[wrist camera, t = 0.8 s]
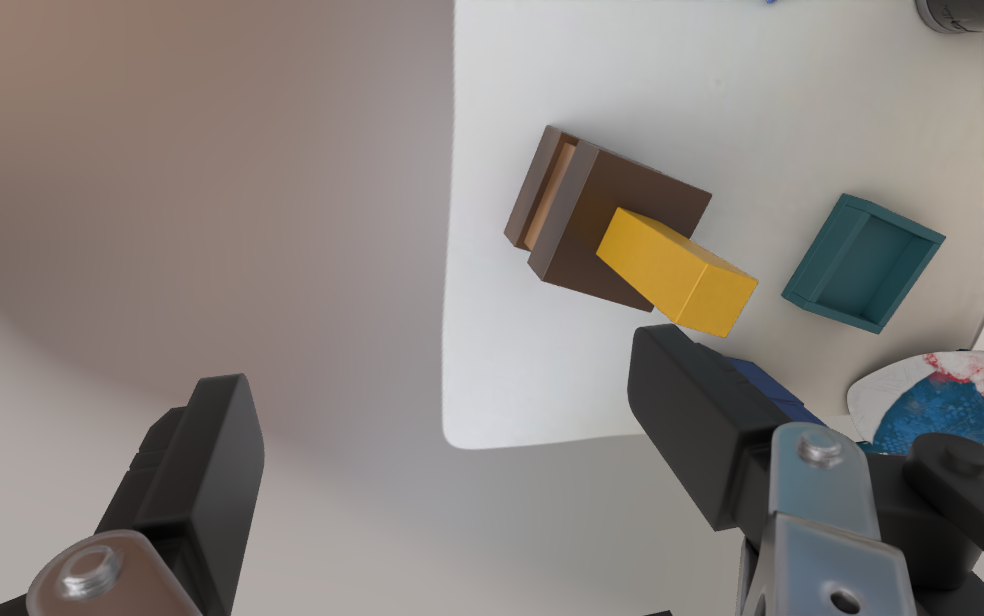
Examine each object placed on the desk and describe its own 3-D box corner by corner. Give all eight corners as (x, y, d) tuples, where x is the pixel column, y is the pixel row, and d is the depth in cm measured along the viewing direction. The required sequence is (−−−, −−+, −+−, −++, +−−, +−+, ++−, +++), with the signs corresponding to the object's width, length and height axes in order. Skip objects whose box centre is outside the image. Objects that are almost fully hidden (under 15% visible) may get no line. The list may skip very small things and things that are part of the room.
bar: (617, 206, 31) (707, 263, 23) (659, 221, 32) (760, 281, 24) (595, 253, 32) (674, 324, 24) (636, 267, 33) (725, 339, 25)
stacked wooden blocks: (546, 124, 37) (599, 148, 30) (642, 163, 40) (713, 194, 32) (503, 233, 40) (540, 281, 32) (595, 262, 43) (651, 313, 35)
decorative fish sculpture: (1062, 354, 54) (944, 268, 53) (1155, 442, 44) (1011, 338, 43) (885, 457, 65) (784, 388, 64) (926, 548, 55) (806, 467, 54)
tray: (842, 192, 45) (871, 201, 43) (917, 226, 49) (947, 236, 46) (780, 295, 49) (803, 309, 46) (854, 320, 52) (879, 335, 49)
